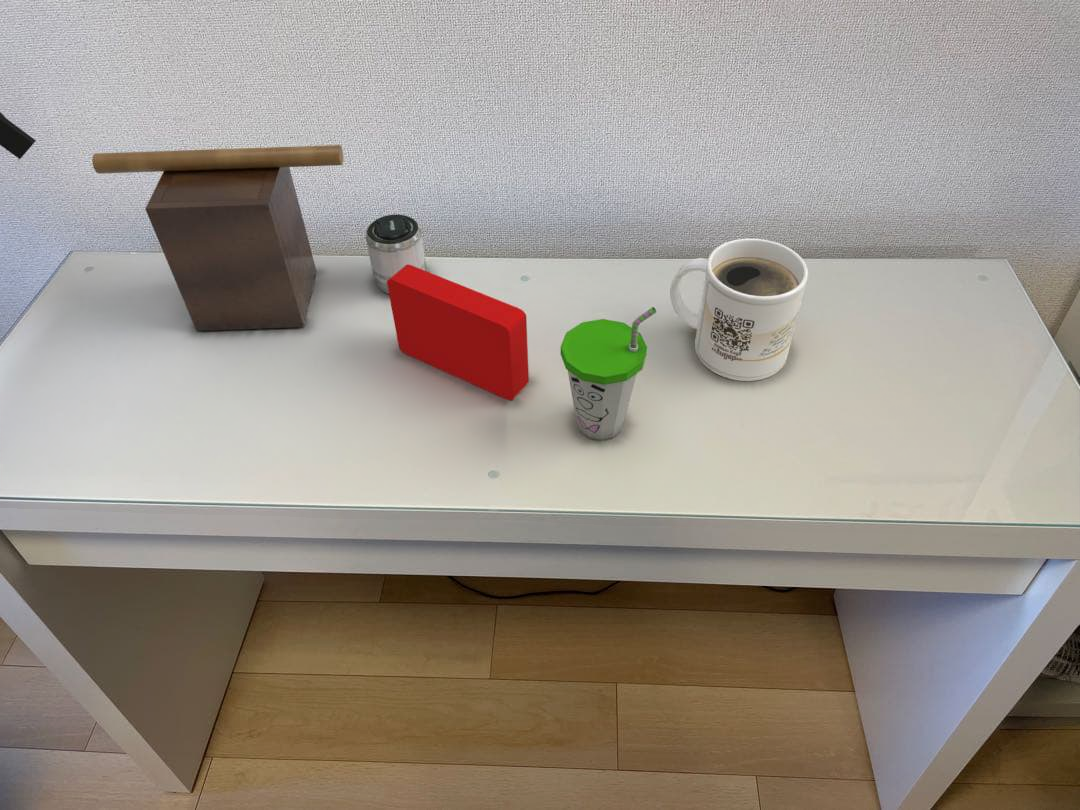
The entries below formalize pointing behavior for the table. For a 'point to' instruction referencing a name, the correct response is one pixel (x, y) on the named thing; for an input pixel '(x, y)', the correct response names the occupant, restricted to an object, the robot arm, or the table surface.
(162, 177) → the divided box with dowel
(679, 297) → the mug
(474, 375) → the red rounded slab
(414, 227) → the camera lens
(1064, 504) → the table surface
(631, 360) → the cup
